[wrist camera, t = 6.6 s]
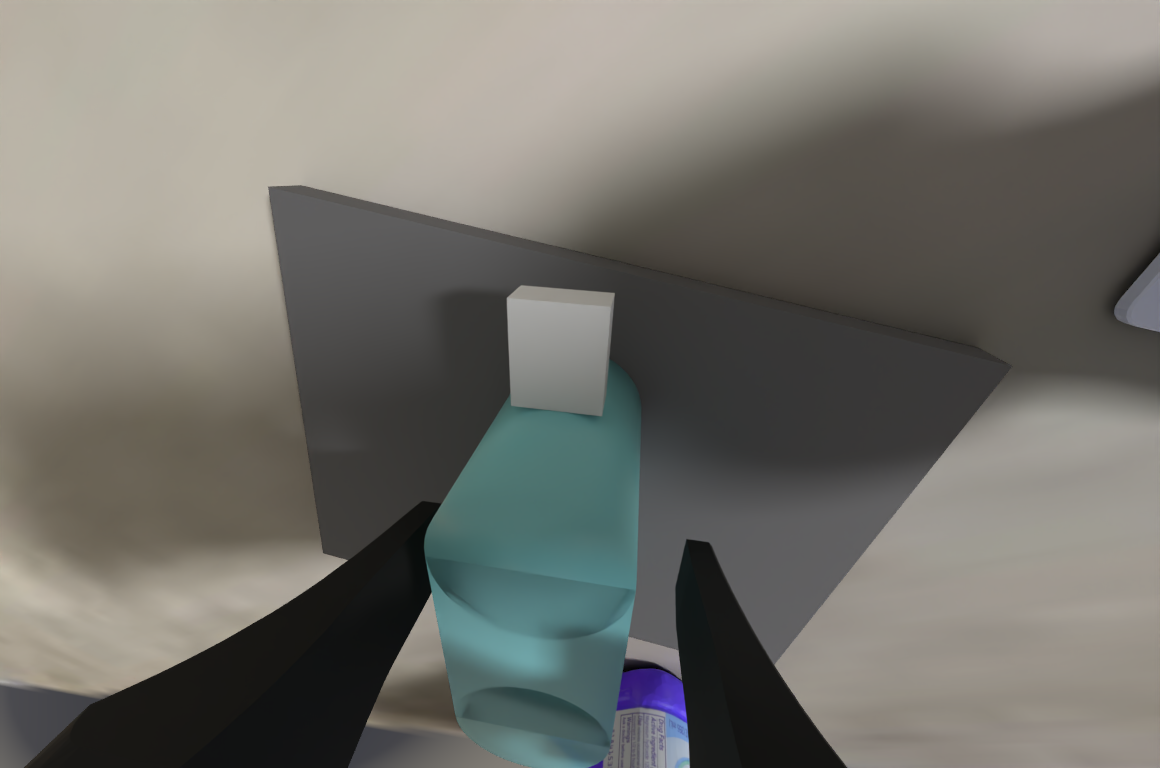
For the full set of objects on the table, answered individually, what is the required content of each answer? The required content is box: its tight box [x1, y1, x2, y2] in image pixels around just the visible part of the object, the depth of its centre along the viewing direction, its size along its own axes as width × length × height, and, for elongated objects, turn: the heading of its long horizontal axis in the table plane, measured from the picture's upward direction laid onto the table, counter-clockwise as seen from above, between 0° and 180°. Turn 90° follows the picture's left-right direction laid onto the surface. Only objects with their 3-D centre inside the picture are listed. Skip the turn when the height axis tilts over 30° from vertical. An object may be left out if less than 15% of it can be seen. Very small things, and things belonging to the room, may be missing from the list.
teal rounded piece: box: [424, 285, 641, 768], centre depth 11 cm, size 4×12×6 cm, turn 177°
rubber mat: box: [268, 185, 1012, 664], centre depth 15 cm, size 20×15×1 cm
